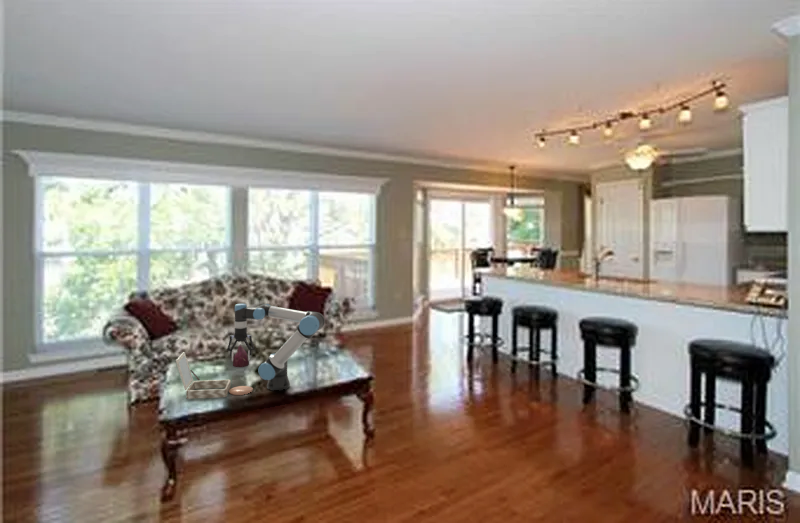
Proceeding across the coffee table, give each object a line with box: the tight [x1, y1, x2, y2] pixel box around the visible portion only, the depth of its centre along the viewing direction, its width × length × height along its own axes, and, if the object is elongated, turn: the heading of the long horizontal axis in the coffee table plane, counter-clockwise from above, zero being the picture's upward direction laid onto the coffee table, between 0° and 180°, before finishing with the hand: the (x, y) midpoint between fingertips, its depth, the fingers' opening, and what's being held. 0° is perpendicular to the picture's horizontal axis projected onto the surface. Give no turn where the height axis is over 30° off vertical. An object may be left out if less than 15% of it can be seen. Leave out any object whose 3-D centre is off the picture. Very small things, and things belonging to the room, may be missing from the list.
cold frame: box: [185, 369, 232, 400], centre depth 326 cm, size 26×20×13 cm
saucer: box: [228, 385, 254, 396], centre depth 331 cm, size 15×15×1 cm
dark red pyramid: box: [232, 344, 250, 368], centre depth 330 cm, size 10×10×15 cm
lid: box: [175, 351, 194, 391], centre depth 323 cm, size 20×20×1 cm
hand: (240, 360), depth 329 cm, fingers closed on dark red pyramid, 10 cm apart
